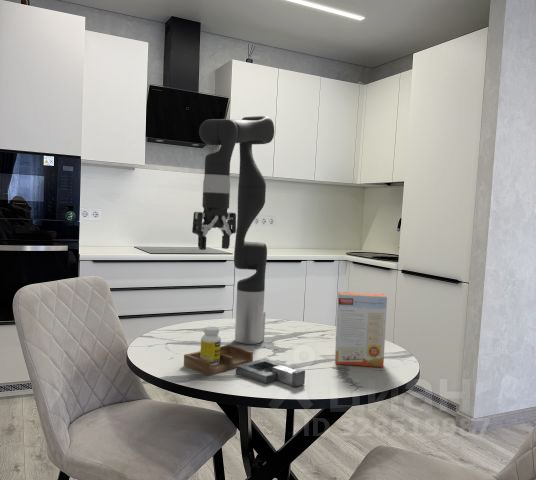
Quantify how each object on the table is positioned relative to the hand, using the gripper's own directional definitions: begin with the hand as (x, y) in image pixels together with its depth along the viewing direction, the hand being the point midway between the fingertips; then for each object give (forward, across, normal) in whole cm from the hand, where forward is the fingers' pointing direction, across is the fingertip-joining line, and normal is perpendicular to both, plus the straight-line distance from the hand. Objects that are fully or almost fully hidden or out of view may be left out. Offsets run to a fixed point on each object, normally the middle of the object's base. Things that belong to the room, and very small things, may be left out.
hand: (214, 249), depth 142 cm
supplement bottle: (+31, -4, -5) cm, 32 cm away
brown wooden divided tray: (+32, 0, -4) cm, 33 cm away
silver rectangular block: (+32, +4, -26) cm, 41 cm away
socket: (+32, +4, -18) cm, 37 cm away
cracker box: (+33, +33, -29) cm, 55 cm away
